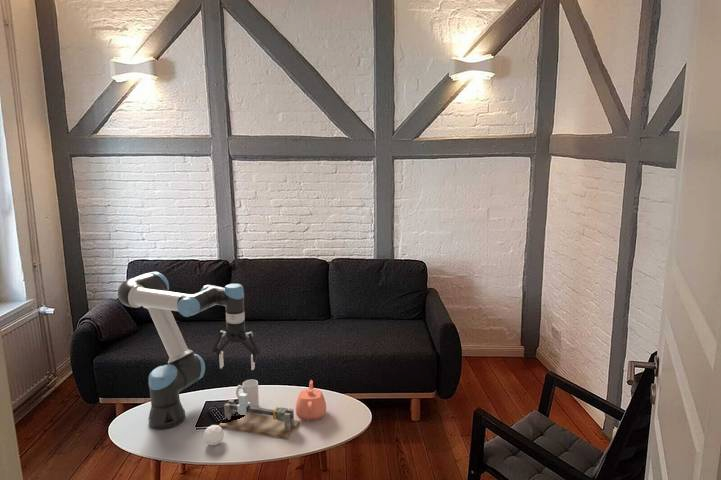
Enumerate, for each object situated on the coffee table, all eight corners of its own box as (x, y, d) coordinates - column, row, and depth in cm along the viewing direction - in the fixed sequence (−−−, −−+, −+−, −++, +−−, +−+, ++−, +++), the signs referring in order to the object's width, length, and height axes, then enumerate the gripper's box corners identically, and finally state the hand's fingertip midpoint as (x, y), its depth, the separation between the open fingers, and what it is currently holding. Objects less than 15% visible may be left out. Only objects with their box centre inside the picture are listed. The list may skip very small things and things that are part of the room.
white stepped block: (237, 414, 225) (236, 396, 223) (242, 409, 228) (241, 391, 227) (246, 415, 224) (244, 397, 222) (250, 410, 227) (249, 392, 225)
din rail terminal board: (218, 427, 224) (217, 408, 222) (233, 412, 235) (232, 394, 233) (288, 439, 215) (287, 419, 213) (299, 423, 226) (299, 404, 224)
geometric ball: (218, 451, 212) (218, 443, 206) (200, 443, 213) (199, 435, 207) (227, 434, 217) (227, 426, 211) (209, 426, 218) (209, 418, 212)
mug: (260, 403, 243) (259, 379, 240) (257, 411, 236) (256, 386, 234) (239, 403, 243) (237, 379, 241) (235, 411, 237) (233, 386, 234)
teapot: (326, 402, 243) (325, 378, 240) (326, 426, 224) (325, 400, 221) (297, 403, 242) (296, 379, 240) (294, 428, 223) (293, 401, 220)
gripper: (202, 323, 216) (205, 370, 221) (262, 325, 215) (264, 373, 220) (209, 316, 224) (211, 362, 229) (267, 318, 222) (268, 365, 227)
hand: (237, 367), depth 224 cm, fingers open, 13 cm apart
